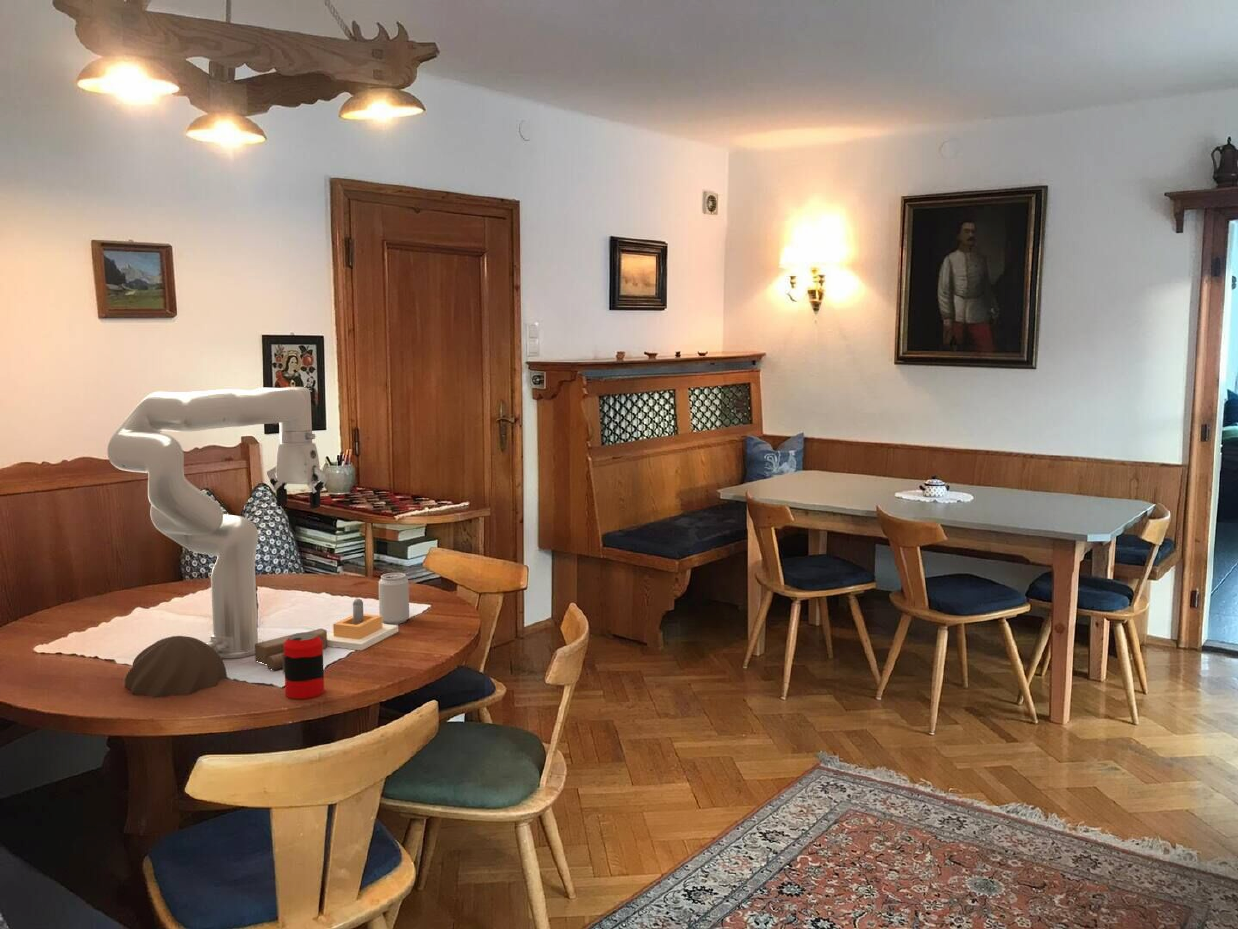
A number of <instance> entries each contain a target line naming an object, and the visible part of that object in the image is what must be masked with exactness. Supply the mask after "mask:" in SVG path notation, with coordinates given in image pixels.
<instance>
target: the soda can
mask: <svg viewBox="0 0 1238 929" xmlns="http://www.w3.org/2000/svg"><path fill="white" fill-rule="evenodd" d="M289 635H290V636H289V637H288V639H287V640H286V642H285V643H284V668H285V673H284V688H285V690H284V691H285V692H284V693H285V695H286V696H287V697H288V698H290V699H293V700H307V699H313V698H316V697H319V696H321V695H322V694H323V693H324V692H325V676H324V673H325V672H324V650H323V641H322V640H321V639H320V638H319V637H318V635H317V634H316V633H311V632H309V631H305V632H296V633H292V634H289Z"/></svg>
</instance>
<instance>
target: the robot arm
mask: <svg viewBox="0 0 1238 929" xmlns="http://www.w3.org/2000/svg"><path fill="white" fill-rule="evenodd" d="M311 397H312V396H311V391H310V389H309V388H307V387H304V386H286V387H285V386H284V387H259V388H256V389H253V390H246V389H230V388H229V389H228V388H227V389H225V388H224V389H223V388H222V389H212V390H203V391H189V392H188V391H187V392H183V391H182V392H171V391H155V392H152V393H150V394H148V395H147V396H146V397H145V398H143V399H142V400H141V401H140V402H139V403H138V404H137V405H136V406H135V408H133V410H132V411H131V412H130V413H129V414H128V416H127V417H126V418H125V420H124V421H123V422H122V423H121V425H120V426H119V427H118V428H117V429H116V431H115V432H114V434H112V436H111V438H110V440H109V442H108V445H107V448H106V449H107V453H106V454H107V459H108V460H109V462H110V463H111V465H112V466H114V467H115V468H116V469H118V470H121V471H126V472H132V473H145V474H148V475H147V476H148V479H147V497H148V498H147V499H148V501H149V503H150V504H151V505H150V511H149V513H150V514H149V515H150V519H151V522H152V524H153V525H154V527H155V529H156V530H158V531H159V532H160V533H161V534H163V535H164V536H166V537H168V538H169V539H170V540H173V541H174V542H175V543H177V544H179V545H180V546H181V547H183V548H185V549H187V550H189V551H191V552H192V553H197V554H202V555H208V556H209V555H210V556H214V557H217V558H216V561H215V563H214V565H213V568H212V570H211V574H210V588H211V589H210V590H211V591H210V592H211V612H212V626H213V627H212V628H213V629H212V631H213V634H212V635H210V640H209V641H208V642H205V643H206V644H207V645H209V646H210V647H211V648H213V649H214V650H215V651H216V652H217V653H218V654H219V656H220V657H221V659H237V658H236V657H239V658H244V656H245V657H248V656H249V657H250V656H254V655H255V644H256V643H260V642H264V641H265V640H263V639H261V638H259V636H258V635H259V634H258V614H257V613H258V612H257V610H258V609H257V591H256V589H257V588H256V587H257V586H256V555H257V548H258V542H259V532H258V529H257V526H256V525H255V523H254V522H253V521H251V519H250V518H249V519H248V518H247V517H244V516H241V515H233V514H225V513H224V511H223V509H222V507H221V506H220V505H219V503H218V502H217V501H216V500H215V499H214V498H212V497H210V496H209V495H208V494H206V493H204V491H202V490H201V489H199V488H198V487H196V486H195V485H194V484H192V483H191V482H190V481H189V480H188V479H187V478H186V477H185V472H184V471H185V470H184V461H185V460H184V458H185V457H184V456H185V455H184V450H183V447H182V445H181V443H180V442H179V441H178V440H177V439H176V438H174V437H173V436H171V435H169V434H167V433H166V434H165V433H162V432H177V433H191V432H198V431H206V430H214V429H222V428H223V429H224V428H235V427H236V428H237V427H248V426H255V425H266V424H267V425H268V424H278V425H279V442H278V445H277V449H276V450H277V451H276V459H275V466H274V467H273V468H271V469H269V470H267V471H266V476H267V477H268V479H269V483H270V484H271V485H272V487H273V489H274V490H275V491H276V492H275V493H276V505H277V507H283V506H286V505H288V490H287V488H286V486H287V485H289V484H291V485H305V486H307V487H308V488H309V491H310V492H309V508H310V509H311V510H315V509H318V508H320V507H321V492H322V491H323V489H324V487H325V486H326V485H327V482H328V479H329V477H330V476H329V474H328V473H327V472H325V471H324V470H322V469H321V467H320V458H319V453H318V448H317V445H316V442H313V440H315V439H316V434H315V433H313V429H312V428H313V425H312V401H311V400H312V398H311Z"/></svg>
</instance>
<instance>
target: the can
mask: <svg viewBox="0 0 1238 929" xmlns="http://www.w3.org/2000/svg"><path fill="white" fill-rule="evenodd" d="M406 576H407V575H406V574H405V573H404V572H403V573H402V572H388V573H383V574H382V575H380V579H379V580H378V607H379V608H378V609H379V613H378V616H382V623H383V624H388V625H396V624H397V625H398V624H402V623H405V622H406V621H407V620H408V619H409V618H410V591H409V590H410V586H409V582H410V581H409V579H408V578H407V577H406Z"/></svg>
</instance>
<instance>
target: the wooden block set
mask: <svg viewBox="0 0 1238 929" xmlns="http://www.w3.org/2000/svg"><path fill="white" fill-rule="evenodd" d="M308 632H311V633H316V634H317V635H318V637H319V638H320V639H321V640H322V641H323V651H324V650H325V648H326V647H328V646H327V634H328V633H327V632H328V631H327V630H326V629H324V628H317V629H313V630H309V631H308ZM290 635H291V634H289V635H286V636H281V637H277V638H273V639H272V638H271V639H268V640H263V641H264V642H260V643H256V644H255V654H254V655H255V656H254V657H255V662H256V661H258V662H262V663H264V664H267V665H266V666H267V668H268V670H269V669H272V670H274V671H276V670H275V669H277V670H281V669H282V672H283V671H284V672H285V668H284V643H285V642H286V640H287V639H288V637H289V636H290ZM258 662H257V663H258ZM280 668H281V669H280Z"/></svg>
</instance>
